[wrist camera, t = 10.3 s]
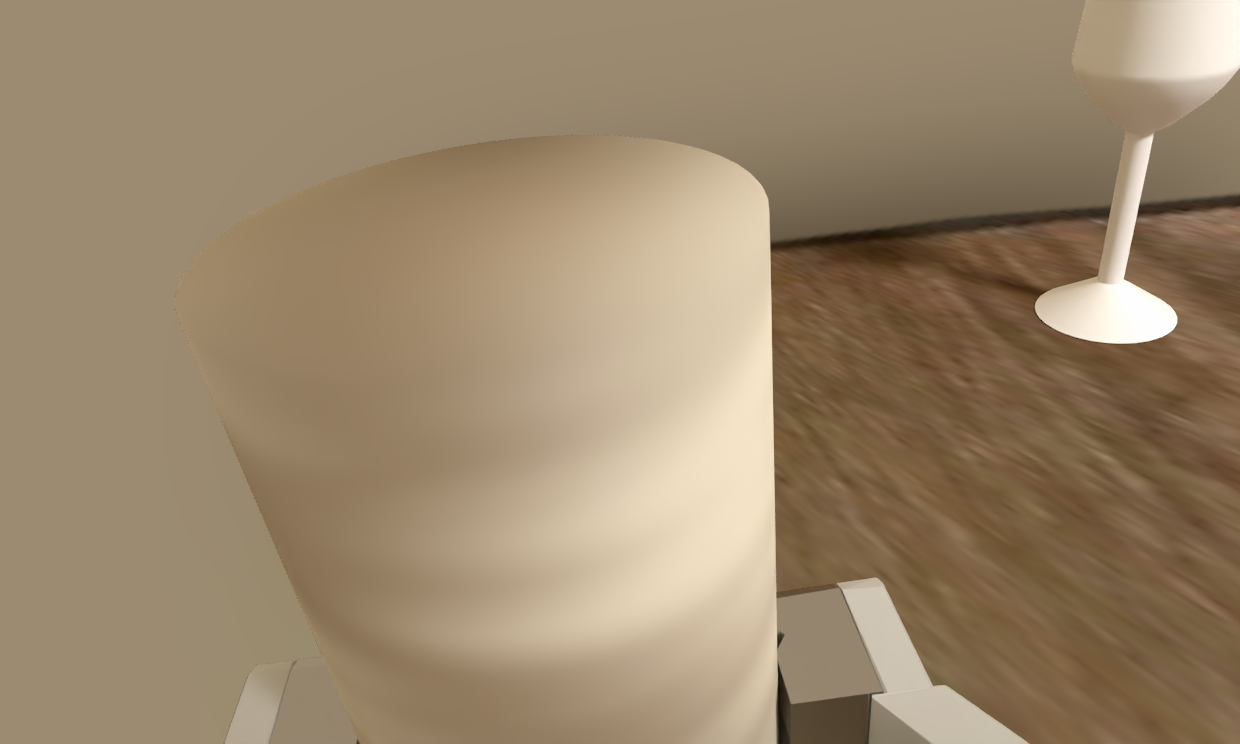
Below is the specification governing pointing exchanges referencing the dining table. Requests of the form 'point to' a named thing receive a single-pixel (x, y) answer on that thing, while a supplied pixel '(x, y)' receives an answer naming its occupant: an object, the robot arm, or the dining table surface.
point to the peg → (514, 436)
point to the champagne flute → (1139, 138)
